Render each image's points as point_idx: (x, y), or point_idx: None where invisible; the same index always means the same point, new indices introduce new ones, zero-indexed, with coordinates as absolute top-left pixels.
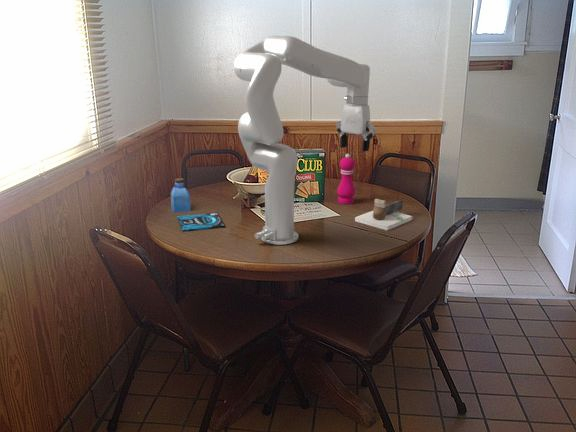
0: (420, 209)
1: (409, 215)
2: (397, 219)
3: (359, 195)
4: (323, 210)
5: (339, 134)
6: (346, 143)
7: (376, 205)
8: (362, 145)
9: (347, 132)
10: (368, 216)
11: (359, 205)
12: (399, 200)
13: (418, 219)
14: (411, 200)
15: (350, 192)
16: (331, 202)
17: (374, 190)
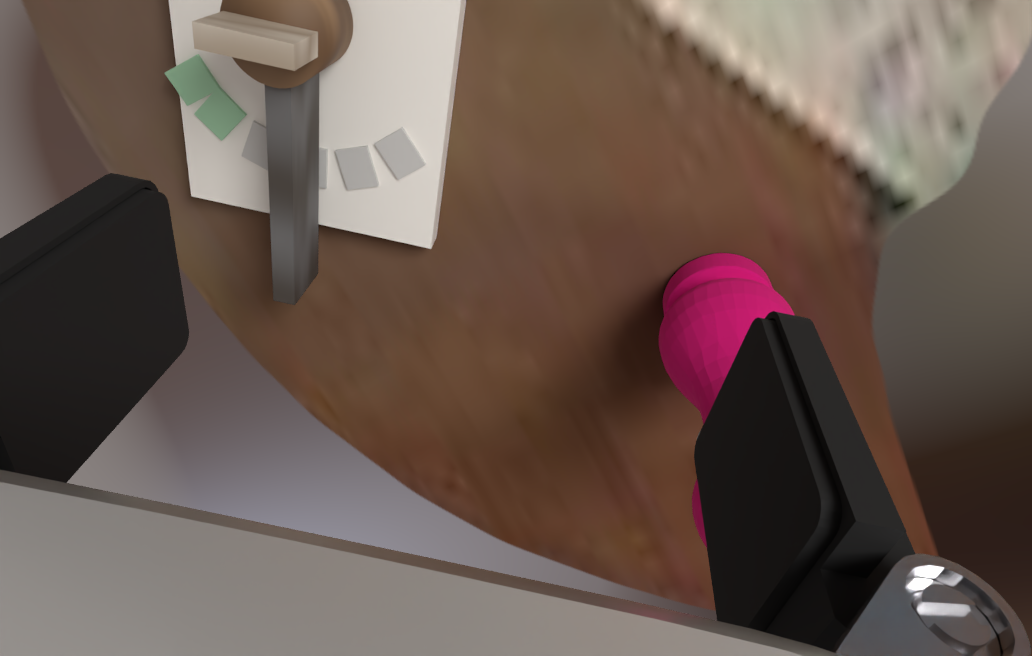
0: (284, 374)
1: (209, 198)
2: (199, 64)
3: (682, 443)
4: (813, 35)
5: (1015, 628)
6: (710, 480)
7: (293, 28)
8: (68, 248)
9: (545, 589)
10: (395, 14)
11: (605, 281)
12: (286, 289)
13: (186, 216)
14: (399, 476)
15: (677, 313)
16: (810, 247)
17: (638, 539)
